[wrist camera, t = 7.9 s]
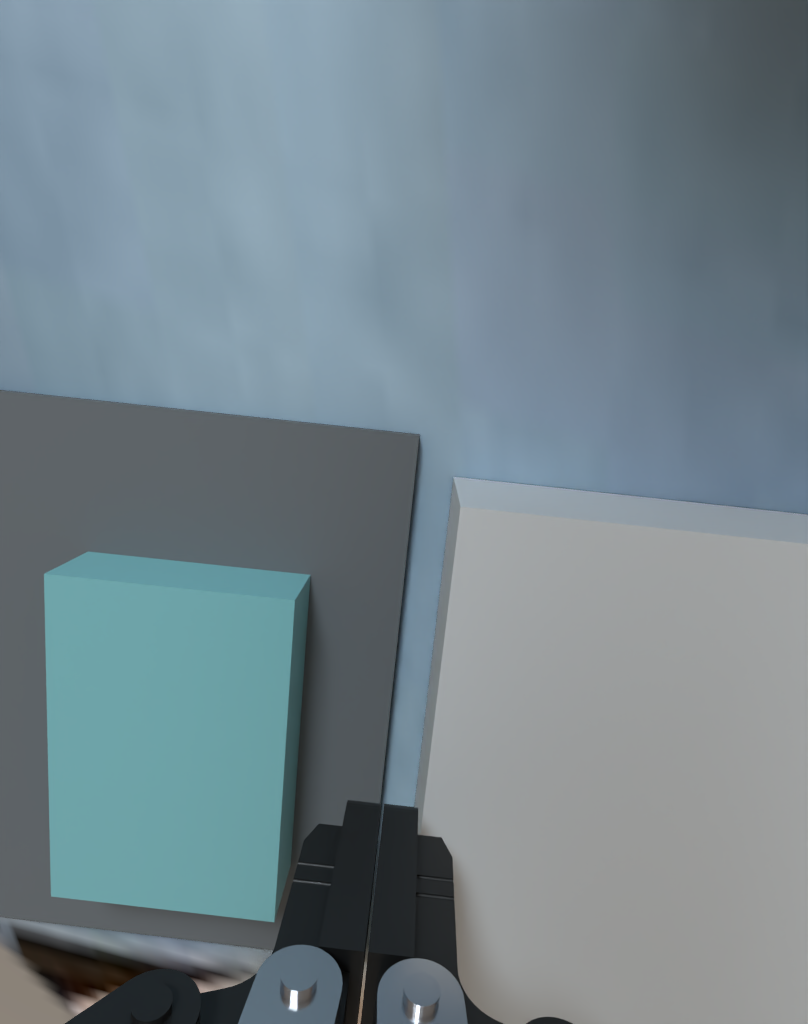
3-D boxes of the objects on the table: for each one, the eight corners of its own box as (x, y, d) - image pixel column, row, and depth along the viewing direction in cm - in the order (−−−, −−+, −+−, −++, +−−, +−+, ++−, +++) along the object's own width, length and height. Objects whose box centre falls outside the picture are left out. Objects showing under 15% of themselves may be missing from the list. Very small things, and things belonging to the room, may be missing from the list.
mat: (-37, 386, 17) (-48, 386, 16) (419, 434, 16) (419, 435, 16) (-16, 903, 20) (-25, 914, 20) (364, 949, 20) (363, 961, 19)
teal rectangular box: (294, 600, 15) (310, 574, 17) (43, 574, 15) (88, 551, 17) (274, 922, 17) (290, 866, 19) (51, 896, 17) (90, 842, 19)
